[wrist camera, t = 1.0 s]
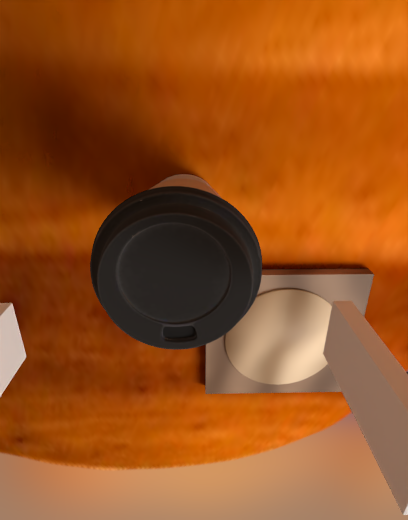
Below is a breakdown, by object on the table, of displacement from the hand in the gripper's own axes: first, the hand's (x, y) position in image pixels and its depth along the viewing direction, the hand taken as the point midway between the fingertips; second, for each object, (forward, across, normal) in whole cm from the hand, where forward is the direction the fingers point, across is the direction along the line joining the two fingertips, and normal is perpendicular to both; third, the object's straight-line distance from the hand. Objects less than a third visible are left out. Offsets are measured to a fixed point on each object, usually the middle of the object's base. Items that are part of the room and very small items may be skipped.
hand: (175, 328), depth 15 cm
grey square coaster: (+18, +10, -14) cm, 25 cm away
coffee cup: (+18, 0, 0) cm, 19 cm away
